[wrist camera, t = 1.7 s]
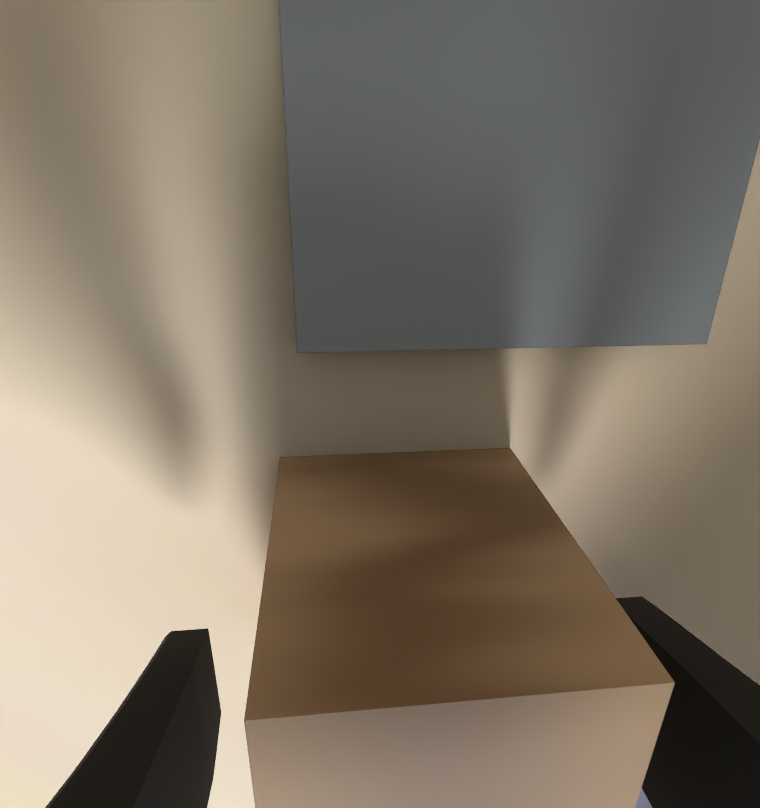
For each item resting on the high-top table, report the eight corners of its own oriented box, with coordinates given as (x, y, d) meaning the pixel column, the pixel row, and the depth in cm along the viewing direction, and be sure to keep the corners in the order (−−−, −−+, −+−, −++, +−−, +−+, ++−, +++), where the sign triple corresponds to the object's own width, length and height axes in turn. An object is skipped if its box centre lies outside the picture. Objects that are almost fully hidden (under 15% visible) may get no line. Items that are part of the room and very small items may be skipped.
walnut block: (509, 446, 12) (675, 682, 6) (488, 619, 14) (601, 913, 8) (280, 456, 11) (244, 720, 6) (293, 633, 13) (275, 956, 8)
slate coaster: (813, -185, 8) (850, -212, 7) (686, 335, 11) (706, 344, 11) (269, -232, 7) (265, -267, 7) (298, 343, 10) (297, 353, 10)
